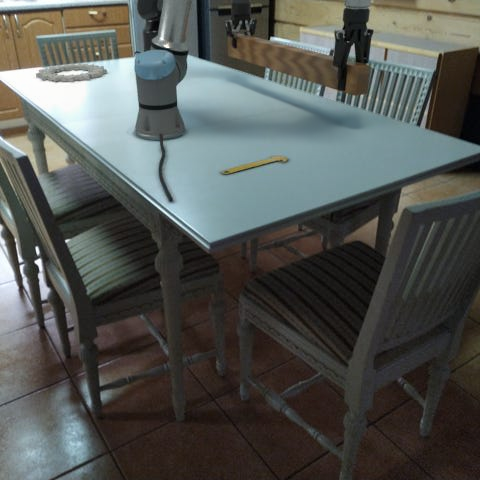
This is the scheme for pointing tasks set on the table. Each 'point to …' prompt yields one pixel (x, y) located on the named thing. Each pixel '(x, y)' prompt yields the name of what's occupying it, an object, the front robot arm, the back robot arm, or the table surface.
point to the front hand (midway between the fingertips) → (348, 88)
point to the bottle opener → (256, 164)
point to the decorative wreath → (92, 73)
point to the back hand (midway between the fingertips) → (240, 47)
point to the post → (300, 63)
